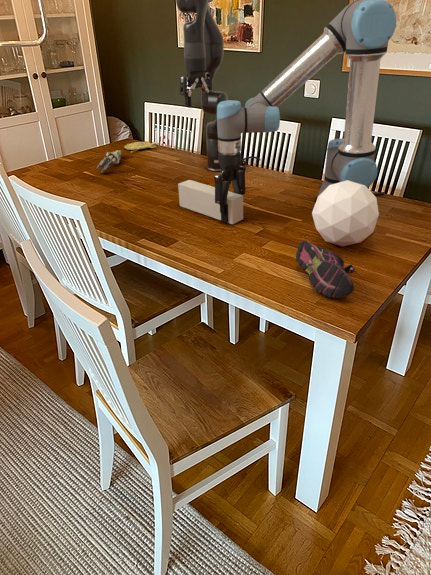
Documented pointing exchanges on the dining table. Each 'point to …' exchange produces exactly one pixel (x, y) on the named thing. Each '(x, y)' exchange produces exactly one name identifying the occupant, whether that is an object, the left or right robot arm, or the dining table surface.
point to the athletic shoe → (325, 270)
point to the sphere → (345, 213)
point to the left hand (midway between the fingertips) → (197, 105)
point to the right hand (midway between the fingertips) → (230, 218)
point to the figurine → (110, 160)
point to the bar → (209, 201)
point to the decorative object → (139, 146)
